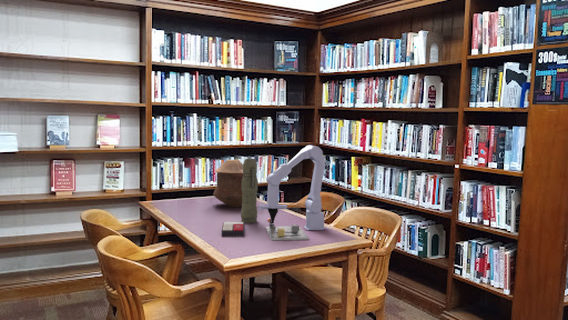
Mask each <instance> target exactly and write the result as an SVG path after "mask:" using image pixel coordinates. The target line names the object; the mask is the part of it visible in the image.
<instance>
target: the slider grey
mask: <svg viewBox="0 0 568 320" xmlns="http://www.w3.org/2000/svg"><path fill="white" fill-rule="evenodd" d="M290 226H291V231H292V232H298V226H299V225H298V224H297V225H295V224H291V225H290Z"/></svg>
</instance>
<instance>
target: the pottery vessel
mask: <svg viewBox="0 0 568 320" xmlns="http://www.w3.org/2000/svg"><path fill="white" fill-rule="evenodd" d="M214 173H216V187H215V188H214V191H213V194H212V195H213V197H214V198H216V199H217V200H218V201H220V202H222V203H223V204H225V205H226V206H227V207H230V208H241V207H242V179H243V162H241V160H239V159H226V160H225V161H224V162H223V163H222V164H221V165H220V166H219V167H218V168H216V169H215V170H214Z"/></svg>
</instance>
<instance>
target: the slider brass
mask: <svg viewBox="0 0 568 320" xmlns="http://www.w3.org/2000/svg"><path fill="white" fill-rule="evenodd" d="M277 235H278V236H285V230H284V228H280V229H278V233H277Z"/></svg>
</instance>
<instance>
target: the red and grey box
mask: <svg viewBox="0 0 568 320" xmlns="http://www.w3.org/2000/svg"><path fill="white" fill-rule="evenodd" d="M244 236H245V223H244V222H241V221H224V222H222V227H221V237H244Z"/></svg>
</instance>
